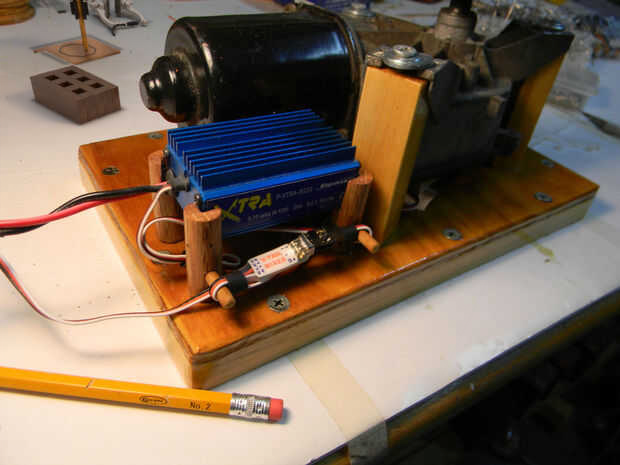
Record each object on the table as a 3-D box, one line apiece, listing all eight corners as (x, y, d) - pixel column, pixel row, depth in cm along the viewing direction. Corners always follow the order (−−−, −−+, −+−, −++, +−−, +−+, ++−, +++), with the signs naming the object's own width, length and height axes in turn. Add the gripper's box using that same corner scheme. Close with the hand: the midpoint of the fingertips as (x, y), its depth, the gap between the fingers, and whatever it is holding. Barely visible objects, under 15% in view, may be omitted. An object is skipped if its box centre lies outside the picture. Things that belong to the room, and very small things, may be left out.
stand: (81, 128, 92) (75, 100, 89) (36, 104, 97) (29, 76, 93) (121, 113, 99) (118, 86, 95) (77, 91, 104) (72, 64, 100)
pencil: (85, 51, 119) (76, -6, 110) (82, 50, 120) (73, -7, 111) (90, 50, 120) (81, -7, 111) (86, 49, 121) (77, -8, 112)
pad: (66, 67, 112) (65, 64, 112) (33, 52, 116) (33, 49, 116) (120, 52, 123) (120, 50, 123) (89, 39, 127) (88, 36, 127)
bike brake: (83, 10, 141) (113, 43, 133) (81, -14, 136) (112, 19, 128) (127, 7, 149) (158, 38, 141) (127, -15, 144) (159, 16, 136)
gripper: (25, -70, 98) (45, 22, 109) (106, -64, 103) (116, 23, 115) (26, -77, 103) (45, 12, 114) (103, -71, 108) (113, 13, 120)
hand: (80, 17), depth 115 cm, fingers closed on pencil, 1 cm apart
